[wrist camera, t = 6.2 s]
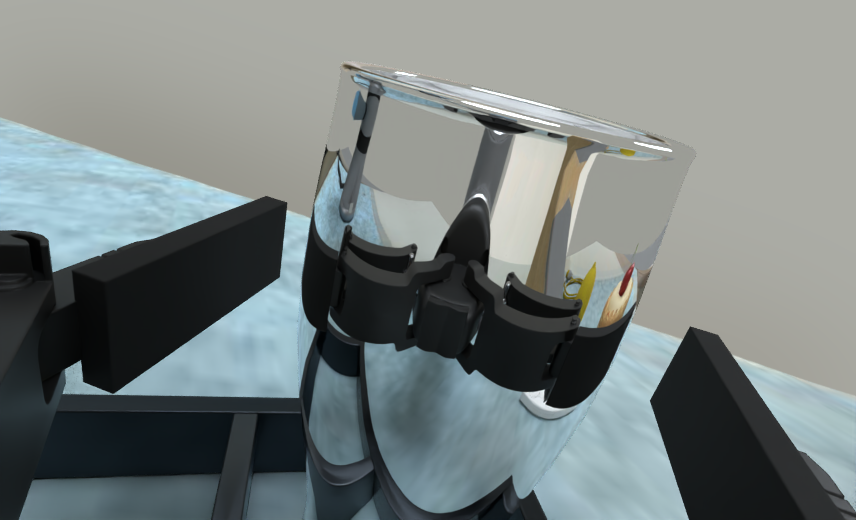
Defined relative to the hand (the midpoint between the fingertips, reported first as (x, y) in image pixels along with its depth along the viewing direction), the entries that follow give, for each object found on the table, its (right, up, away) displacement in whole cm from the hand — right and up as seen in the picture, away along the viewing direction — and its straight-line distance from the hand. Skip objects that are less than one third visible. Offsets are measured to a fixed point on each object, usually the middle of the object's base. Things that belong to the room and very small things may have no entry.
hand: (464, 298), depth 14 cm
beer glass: (-3, -9, +1) cm, 10 cm away
